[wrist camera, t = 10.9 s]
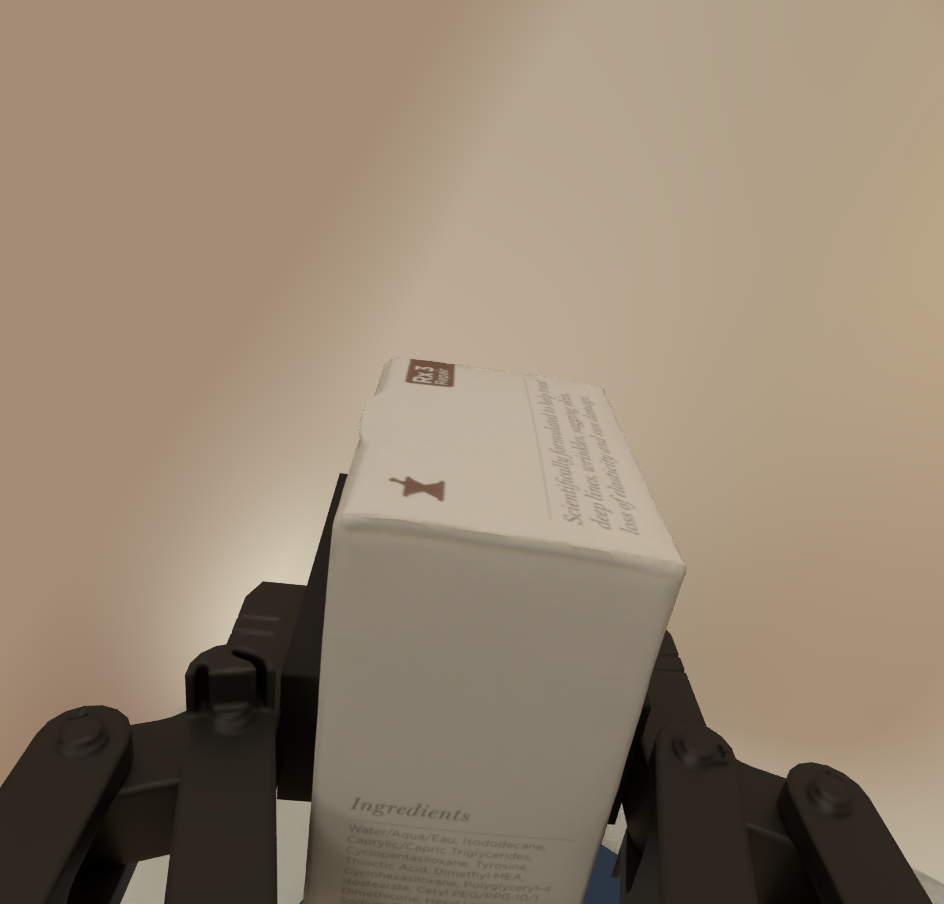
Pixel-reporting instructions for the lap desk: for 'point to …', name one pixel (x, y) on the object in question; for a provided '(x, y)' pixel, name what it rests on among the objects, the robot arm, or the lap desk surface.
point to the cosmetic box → (482, 641)
